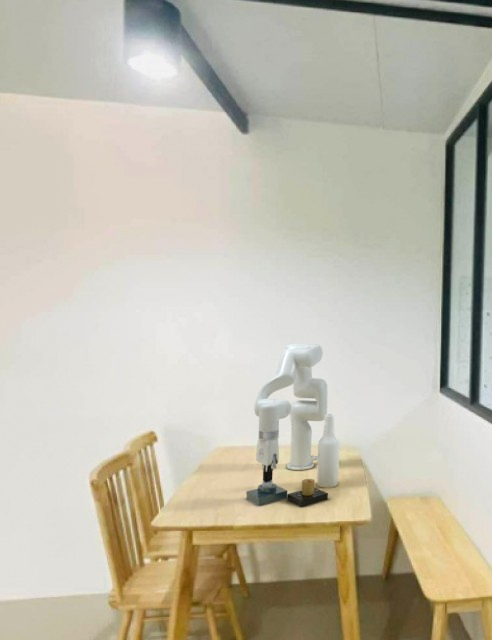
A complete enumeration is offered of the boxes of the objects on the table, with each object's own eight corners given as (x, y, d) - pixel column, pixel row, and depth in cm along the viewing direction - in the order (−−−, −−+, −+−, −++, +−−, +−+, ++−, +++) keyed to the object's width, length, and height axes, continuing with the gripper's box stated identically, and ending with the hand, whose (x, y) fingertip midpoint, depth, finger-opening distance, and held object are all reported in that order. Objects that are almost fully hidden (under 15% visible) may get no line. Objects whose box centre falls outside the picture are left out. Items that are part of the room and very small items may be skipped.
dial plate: (313, 493, 206) (314, 486, 206) (327, 499, 199) (328, 492, 199) (287, 500, 197) (287, 493, 197) (301, 507, 190) (301, 500, 190)
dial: (299, 493, 198) (299, 479, 198) (309, 490, 202) (310, 477, 202) (306, 496, 195) (306, 482, 195) (316, 493, 198) (316, 480, 198)
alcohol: (337, 487, 213) (339, 416, 213) (316, 488, 212) (318, 417, 212) (338, 480, 222) (340, 412, 222) (317, 481, 220) (319, 413, 221)
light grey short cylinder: (269, 484, 201) (269, 479, 201) (274, 486, 199) (274, 481, 199) (260, 486, 199) (260, 481, 199) (264, 489, 196) (265, 484, 196)
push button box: (274, 491, 206) (274, 479, 206) (287, 498, 199) (287, 485, 200) (246, 498, 198) (246, 486, 198) (258, 506, 191) (258, 492, 191)
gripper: (250, 432, 201) (249, 478, 201) (269, 439, 191) (268, 488, 191) (268, 429, 207) (267, 474, 207) (287, 436, 196) (285, 483, 196)
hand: (267, 480), depth 199 cm, fingers closed
